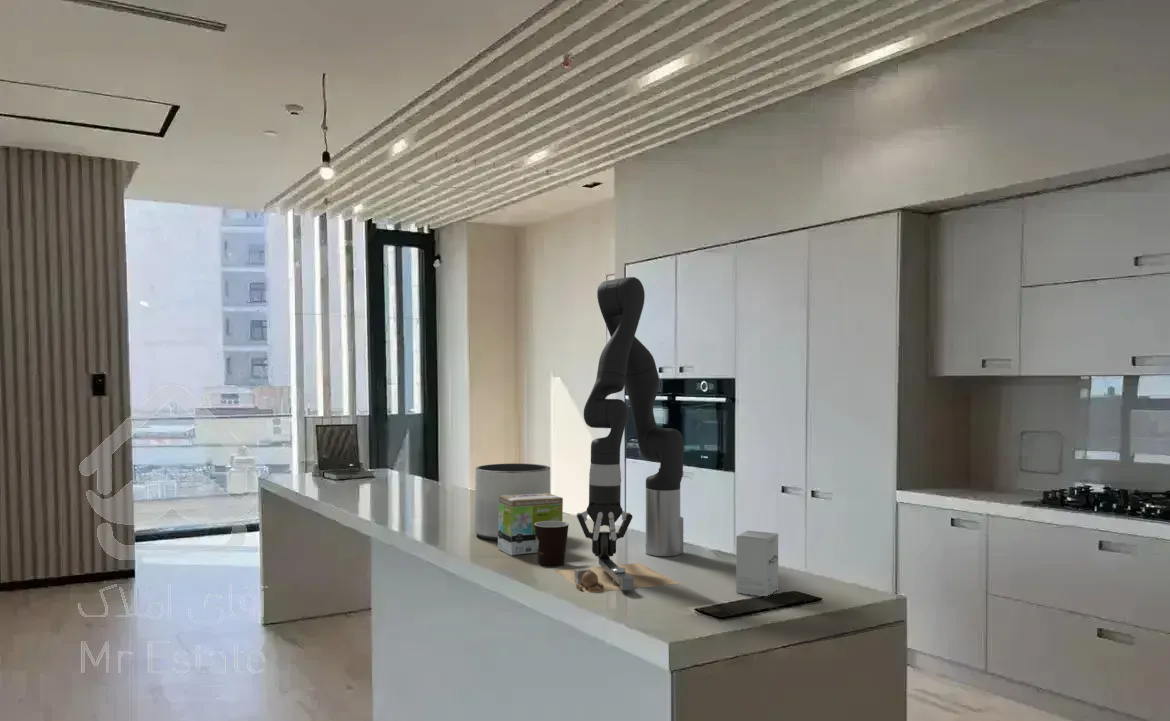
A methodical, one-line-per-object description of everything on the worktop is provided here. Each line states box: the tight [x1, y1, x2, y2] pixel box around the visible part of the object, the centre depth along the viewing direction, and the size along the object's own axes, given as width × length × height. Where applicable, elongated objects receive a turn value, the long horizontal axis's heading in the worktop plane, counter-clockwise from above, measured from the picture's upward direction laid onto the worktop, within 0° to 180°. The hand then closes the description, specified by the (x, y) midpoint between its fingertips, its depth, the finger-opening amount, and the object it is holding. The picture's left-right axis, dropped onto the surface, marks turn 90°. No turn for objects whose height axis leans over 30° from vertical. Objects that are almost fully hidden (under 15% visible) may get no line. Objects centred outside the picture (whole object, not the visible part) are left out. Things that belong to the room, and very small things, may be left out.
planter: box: [473, 462, 551, 541], centre depth 241 cm, size 23×23×20 cm
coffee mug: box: [534, 521, 570, 568], centre depth 205 cm, size 12×9×10 cm
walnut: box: [582, 571, 598, 588], centre depth 176 cm, size 4×4×4 cm
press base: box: [554, 562, 680, 594], centre depth 185 cm, size 23×21×4 cm
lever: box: [597, 530, 634, 591], centre depth 182 cm, size 24×3×8 cm, turn 12°
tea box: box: [497, 493, 564, 556], centre depth 220 cm, size 15×10×15 cm, turn 117°
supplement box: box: [735, 530, 779, 597], centre depth 178 cm, size 7×7×13 cm
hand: (603, 555), depth 192 cm, fingers closed on lever, 3 cm apart
